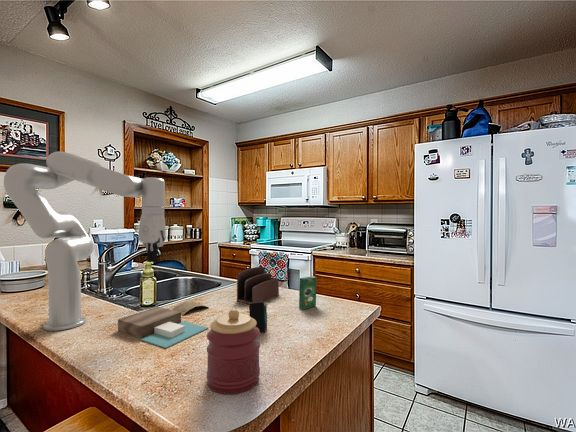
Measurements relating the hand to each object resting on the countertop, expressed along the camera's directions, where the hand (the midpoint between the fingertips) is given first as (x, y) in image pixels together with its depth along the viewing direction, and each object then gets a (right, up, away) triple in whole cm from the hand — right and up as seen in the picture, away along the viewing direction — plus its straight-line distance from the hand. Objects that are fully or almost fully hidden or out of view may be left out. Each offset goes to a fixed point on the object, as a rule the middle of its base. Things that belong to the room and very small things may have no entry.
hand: (152, 261), depth 113 cm
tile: (+10, -23, -9) cm, 26 cm away
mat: (+12, -23, -9) cm, 28 cm away
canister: (+36, -24, -36) cm, 57 cm away
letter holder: (+36, -23, +33) cm, 54 cm away
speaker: (+39, -24, -5) cm, 46 cm away
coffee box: (+59, -23, +20) cm, 66 cm away
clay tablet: (+9, -24, +17) cm, 30 cm away
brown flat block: (+1, -23, -3) cm, 23 cm away
